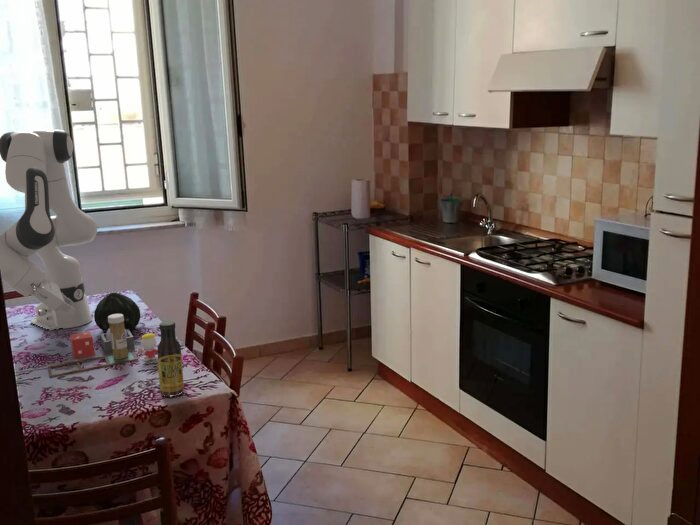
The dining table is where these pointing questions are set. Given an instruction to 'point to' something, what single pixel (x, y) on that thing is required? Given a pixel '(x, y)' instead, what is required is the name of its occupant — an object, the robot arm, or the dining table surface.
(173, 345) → the sauce bottle
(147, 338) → the toy figures
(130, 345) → the dome housing
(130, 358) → the wooden frame
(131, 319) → the squash
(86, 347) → the red die
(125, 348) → the sprinkles bottle
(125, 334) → the dome
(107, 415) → the dining table surface
